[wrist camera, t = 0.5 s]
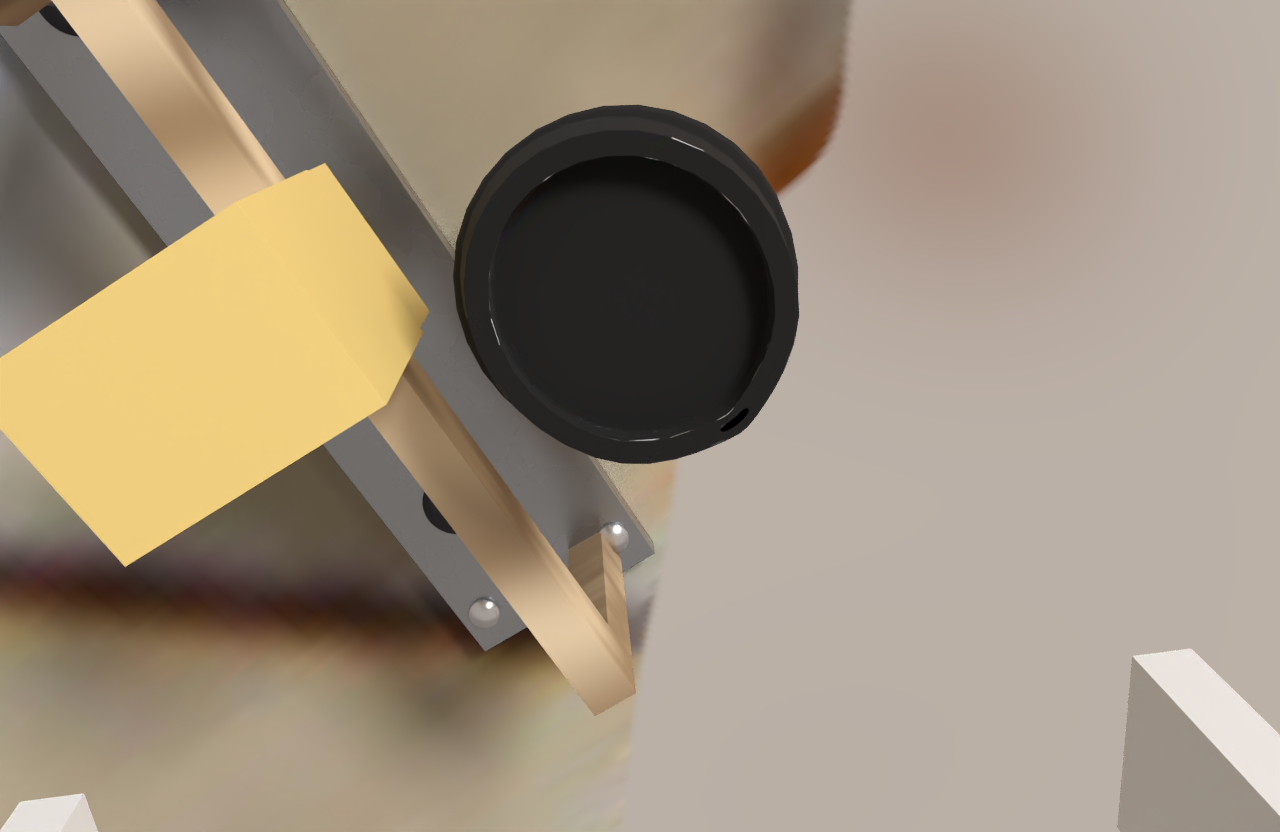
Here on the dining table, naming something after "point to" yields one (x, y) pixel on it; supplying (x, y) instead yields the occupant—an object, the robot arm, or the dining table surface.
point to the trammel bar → (416, 412)
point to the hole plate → (341, 138)
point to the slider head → (213, 363)
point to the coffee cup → (629, 283)
